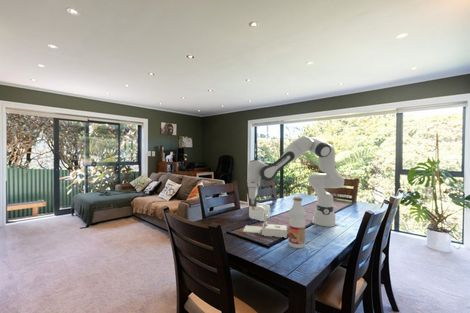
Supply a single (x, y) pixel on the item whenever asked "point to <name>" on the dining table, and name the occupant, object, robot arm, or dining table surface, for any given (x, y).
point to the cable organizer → (259, 211)
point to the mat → (252, 229)
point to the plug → (254, 203)
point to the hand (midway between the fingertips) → (253, 202)
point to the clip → (265, 218)
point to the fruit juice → (297, 224)
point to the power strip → (274, 230)
